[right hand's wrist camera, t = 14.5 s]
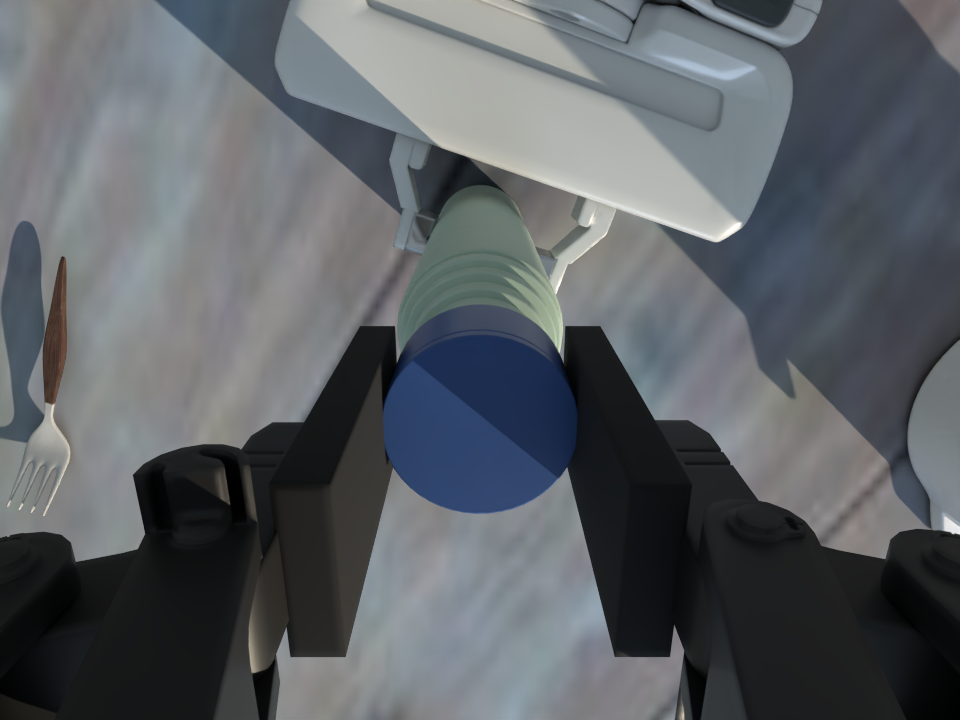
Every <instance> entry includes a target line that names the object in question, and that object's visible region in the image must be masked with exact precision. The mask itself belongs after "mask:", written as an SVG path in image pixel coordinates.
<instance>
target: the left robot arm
mask: <svg viewBox="0 0 960 720" xmlns="http://www.w3.org/2000/svg"><path fill="white" fill-rule="evenodd" d="M822 1H823V0H290V1H289V4H288V8H287V11H286V14H285V17H284V21H283V24H282V28H281V32H280V36H279V39H278V43H277V48H276V52H275V67H276V70H277V72H278V75H279V77H280V79H281V81H282V84H283V86H284V88H285V90H286V92H287V93H288V94H289V95H291V96H293V97H296V98H299V99H302V100H305V101H307V102H310V103H313V104H316V105H319V106H322V107H325V108H328V109H331V110H333V111H336V112H339V113H342V114H345V115H348V116H351V117H354V118H357V119H359V120H362V121H365V122H368V123H371V124H374V125H377V126H380V127H383V128H385V129H388V130H391V131H394V132H397V133H396V137H395V141H394V144H393V148H392V152H391V155H390V159H389V162H390V166H391V170H392V174H393V178H394V182H395V186H396V190H397V194H398V198H399V202H400V206H401V208H404V209H403V212H402V216H401V219H400V223H399V226H398V230H397V233H396V237H395V240H394V246H393V247H396V248H398V249H401V250H405V251H408V252H411V253H415V254H418V255H421V256H422V254H423V252H424V249H425V247H426V245H427V242H428V240H429V238H430V235H431V233H432V231H433V229H434V227H435V224H436V220H437V217H438V214H436V213H433V212H430V211H428V210H425V209H422V207H421V202H420V198H419V193H418V188H417V184H416V179H415V175H414V170H413V168H414V169H417V170H420V169H421V168H423V167H424V166H426V163H427V160H428V156H429V153H430V150H431V147H432V145H434V146H437V147H440V148H443V149H446V150H449V151H452V152H455V153H458V154H460V155H463V156H466V157H469V158H472V159H475V160H478V161H481V162H484V163H486V164H489V165H492V166H495V167H498V168H501V169H504V170H507V171H510V172H512V173H515V174H518V175H521V176H524V177H527V178H530V179H533V180H536V181H538V182H541V183H544V184H547V185H550V186H553V187H556V188H559V189H562V190H564V191H567V192H570V193H573V194H576V195H578V197H577V200H576V203H575V206H574V209H573V211H572V214H571V215H572V218H573V219H574V220H575V221H576V222H577V223H578V224H579V225H578V226H577V227H576V228H575V229H574V230H573V231H572V232H570V233H569V234H568V235H567V236H566V237H565V238H564V239H562V240H561V241H560V242H559V243H558V244H557V245H556V246H555V247H553V248H552V249H551V250H550V251H547V250H544V249H541V248H538V247H535V248H536V250H537V253H538V255H539V257H540V260H541V262H542V264H543V267H544V269H545V271H546V274H547V276H548V278H549V281H550V283H551V285H552V288H553V290H554V292H555V295H556V293H557V290H558V288H559V285H560V283H561V280H562V277H563V275H564V272H565V270H566V267H567V264H568V263H569V264H571V263H573V262H574V261H575V260H576V259H577V258H579V257H580V256H581V255H582V254H584V253H585V252H586V251H587V250H588V249H590V248H591V247H592V246H593V245H595V244H596V243H597V242H598V241H599V240H601V239H602V238H603V237H604V236H606V234H607V232H608V229H609V227H610V224H611V222H612V219H613V217H614V214H615V212H616V209H619V210H622V211H625V212H628V213H631V214H634V215H637V216H640V217H642V218H645V219H648V220H651V221H654V222H657V223H660V224H663V225H666V226H668V227H671V228H674V229H677V230H680V231H683V232H686V233H689V234H692V235H694V236H697V237H700V238H703V239H706V240H709V241H712V242H720V241H722V240H724V239H725V238H727V237H729V236H730V235H732V234H733V233H735V232H736V231H738V230H739V229H741V228H742V227H743V226H744V225H745V224H746V223H747V221H748V219H749V218H750V216H751V214H752V212H753V210H754V208H755V206H756V204H757V201H758V199H759V197H760V195H761V192H762V190H763V188H764V185H765V183H766V180H767V178H768V175H769V173H770V170H771V168H772V165H773V162H774V160H775V157H776V154H777V151H778V149H779V146H780V143H781V140H782V137H783V133H784V130H785V127H786V124H787V121H788V118H789V114H790V110H791V105H792V98H793V79H792V74H791V71H790V68H789V66H788V63H787V62H786V60H785V58H784V57H783V56H782V55H781V54H780V53H779V52H778V51H780V50H783V49H786V48H788V47H790V46H793V45H795V44H797V43H799V42H800V41H802V40H803V39H804V38H805V37H806V36H807V34H808V33H809V32H810V30H811V28H812V26H813V25H814V23H815V21H816V19H817V15H818V14H819V12H820V9H821V6H822ZM907 444H908V452H909V457H910V461H911V464H912V467H913V469H914V472H915V474H916V476H917V477H918V479H919V480H920V482H921V484H922V485H923V487H924V488H925V490H926V492H927V494H928V496H929V499H930V519H931V526H932V530H942V531H947V532H951V533H952V534H954V533H956V534H959V535H960V340H959V341H957V342H956V343H955V344H954V345H953V346H952V347H951V348H950V349H949V350H948V351H947V352H946V353H945V354H944V355H943V356H942V358H941V359H940V360H939V361H938V362H937V363H936V365H935V366H934V367H933V369H932V370H931V372H930V373H929V375H928V376H927V378H926V379H925V381H924V383H923V384H922V386H921V388H920V390H919V392H918V394H917V397H916V399H915V402H914V404H913V407H912V410H911V414H910V418H909V424H908V433H907Z"/></svg>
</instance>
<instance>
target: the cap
mask: <svg viewBox="0 0 960 720" xmlns="http://www.w3.org/2000/svg"><path fill="white" fill-rule="evenodd" d="M577 417H578V408H577V404H576V400H575V396H574V393H573V391H572V388H571V385H570V382H569V379H568V376H567V373H566V370H565V367H564V364H563V361H562V358H561V356H560V354H559V351H558V349H557V348H556V346H555V344H554V343H553V341H552V340H551V338H550V337H549V336H548V335H547V333H546V332H545V331H544V330H543V329H542V328H541V327H539V326H538V325H537V324H536V323H535V322H533V321H532V320H530V319H529V318H527V317H526V316H524V315H522V314H520V313H518V312H515V311H513V310H510V309H508V308H503V307H499V306H494V305H485V304H481V305H467V306H460V307H457V308H453V309H450V310H447V311H445V312H443V313H440V314H438V315H437V316H435V317H433V318H431V319H430V320H428V321H427V322H426V323H424V324H423V325H422V326H421V327H420V328H419V329H418V330H417V331H416V332H415V333H414V334H413V335H412V336H411V338H410V339H409V340H408V342H407V343H406V345H405V346H404V348H403V350H402V352H401V354H400V357H399V360H398V362H397V365H396V368H395V371H394V374H393V377H392V380H391V382H390V385H389V388H388V391H387V394H386V397H385V400H384V404H383V426H384V443H385V451H386V453H387V456H388V458H389V460H390V462H391V464H392V466H393V468H394V469H395V471H396V472H397V473H398V475H399V476H400V477H401V479H402V480H403V481H404V482H405V483H406V484H407V485H408V486H409V487H410V488H411V489H413V490H414V491H415V492H416V493H418V494H419V495H420V496H422V497H424V498H425V499H427V500H428V501H430V502H432V503H434V504H437V505H439V506H441V507H444V508H447V509H450V510H454V511H459V512H464V513H474V514H486V513H496V512H502V511H506V510H510V509H513V508H516V507H519V506H521V505H524V504H526V503H528V502H530V501H532V500H534V499H535V498H537V497H538V496H540V495H541V494H543V493H544V492H545V491H546V490H548V489H549V488H550V487H551V486H552V485H553V484H554V483H555V482H556V481H557V480H558V479H559V478H560V476H561V475H562V474H563V472H564V471H565V469H566V468H567V466H568V464H569V462H570V460H571V458H572V456H573V454H574V451H575V448H576V435H577Z"/></svg>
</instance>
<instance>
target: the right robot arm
mask: <svg viewBox="0 0 960 720" xmlns="http://www.w3.org/2000/svg"><path fill="white" fill-rule="evenodd" d="M396 365H397V359H396V338H395V326H360V328H359V329H358V331H357V333H356V334H355V336H354V338H353V340H352V341H351V343H350V345H349V346H348V348H347V350H346V352H345V353H344V355H343V357H342V359H341V360H340V362H339V364H338V365H337V367H336V369H335V371H334V372H333V374H332V376H331V377H330V379H329V381H328V383H327V384H326V386H325V388H324V389H323V391H322V393H321V395H320V396H319V398H318V400H317V402H316V403H315V405H314V407H313V408H312V410H311V412H310V414H309V415H308V417H307V419H306V420H305V422H273V423H271V424H269V425H268V426H266V427H265V428H263V429H261V430H260V431H258V432H257V433H255V434H253V435H252V436H251V437H250V438H249V440H248V441H247V442H246V444H245V445H244V447H243V448H242V449H239V448H236V447H232V446H228V445H223V444H203V445H197V446H191V447H184V448H180V449H177V450H174V451H171V452H168V453H165V454H162V455H160V456H158V457H156V458H154V459H152V460H150V461H149V462H147V463H145V464H143V465H142V466H141V467H140V468H139V469H138V470H137V471H136V472H135V473H134V474H133V478H134V482H135V487H136V492H137V497H138V501H139V506H140V511H141V515H142V520H143V525H144V530H145V536H144V538H143V540H142V542H141V544H140V546H139V548H138V549H137V550H133V551H129V552H125V553H121V554H116V555H110V556H105V557H100V558H95V559H90V560H84V561H79V562H76V561H75V557H74V553H73V549H72V546H71V542H69V541H68V540H67V539H66V538H65V537H63V536H62V535H59V534H53V533H48V532H36V533H20V534H15V535H10V537H7V536H6V537H2V538H0V720H275V719H276V710H277V702H278V694H279V686H280V679H279V672H278V665H277V658H276V653H277V650H278V648H279V645H280V642H281V640H282V637H283V635H284V632H285V629H286V627H287V633H288V641H289V649H290V656H291V657H346V653H347V649H348V645H349V641H350V637H351V633H352V629H353V625H354V621H355V617H356V613H357V609H358V605H359V601H360V597H361V593H362V589H363V585H364V581H365V577H366V573H367V569H368V565H369V561H370V557H371V553H372V549H373V545H374V541H375V537H376V533H377V529H378V525H379V521H380V517H381V513H382V509H383V505H384V501H385V497H386V493H387V489H388V485H389V481H390V477H391V473H392V469H393V466H392V464H391V462H390V460H389V458H388V456H387V453H386V451H385V443H384V426H383V404H384V400H385V397H386V394H387V391H388V388H389V385H390V382H391V380H392V377H393V374H394V371H395V368H396ZM564 367H565V370H566V373H567V376H568V379H569V382H570V385H571V388H572V391H573V393H574V396H575V400H576V404H577V408H578V417H577V435H576V448H575V451H574V454H573V456H572V458H571V460H570V462H569V464H568V466H567V468H568V472H569V476H570V480H571V484H572V488H573V492H574V496H575V500H576V504H577V508H578V512H579V515H580V519H581V523H582V527H583V531H584V535H585V539H586V543H587V547H588V551H589V555H590V559H591V563H592V567H593V571H594V575H595V579H596V583H597V587H598V591H599V595H600V599H601V603H602V607H603V611H604V615H605V619H606V623H607V627H608V631H609V635H610V639H611V643H612V647H613V651H614V655H615V657H670V652H671V644H672V637H673V629H674V625H675V627H676V630H677V633H678V635H679V638H680V640H681V643H682V646H683V648H684V658H683V665H682V672H681V679H680V687H679V694H678V701H677V708H676V715H675V720H684V717H685V720H960V535H959V534H956V533H954V534H952V533H951V532H947V531H942V530H925V529H914V530H908V531H902V532H899V533H898V534H897V535H896V536H894V537H893V538H892V539H891V540H890V544H889V548H888V551H887V555H886V559H881V558H876V557H871V556H865V555H860V554H855V553H850V552H844V551H839V550H835V549H831V548H827V547H823V546H821V545H820V543H819V541H818V539H817V537H816V535H815V533H814V532H813V530H812V529H811V528H810V527H809V526H808V524H807V523H806V522H805V521H804V520H802V519H801V518H799V517H798V516H796V515H795V514H793V513H792V512H790V511H789V510H786V509H783V508H781V507H778V506H776V505H773V504H770V503H767V502H762V501H758V499H757V498H756V497H755V495H754V494H753V492H752V491H751V490H750V488H749V487H748V486H747V484H746V483H745V481H744V480H743V479H742V477H741V476H740V475H739V473H738V472H737V471H736V469H735V468H734V466H733V465H730V461H729V460H728V458H727V457H726V456H725V454H724V453H723V452H721V449H720V447H719V446H718V445H717V443H716V442H715V440H714V439H713V438H712V436H711V435H710V434H709V433H708V432H706V431H704V430H703V429H701V428H700V427H698V426H696V425H695V424H693V423H692V422H690V421H688V420H654V418H653V416H652V414H651V413H650V411H649V409H648V408H647V406H646V404H645V402H644V401H643V399H642V397H641V396H640V394H639V392H638V390H637V389H636V387H635V385H634V384H633V382H632V380H631V378H630V377H629V375H628V373H627V372H626V370H625V368H624V366H623V365H622V363H621V361H620V359H619V358H618V356H617V354H616V353H615V351H614V349H613V347H612V346H611V344H610V342H609V341H608V339H607V337H606V335H605V334H604V332H603V330H602V329H601V327H600V326H565V347H564Z"/></svg>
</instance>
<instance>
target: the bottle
mask: <svg viewBox="0 0 960 720" xmlns="http://www.w3.org/2000/svg"><path fill="white" fill-rule="evenodd" d="M481 304H485V305H494V306H499V307H503V308H508V309H510V310H513V311H515V312H518V313H520V314H522V315H524V316H526V317H527V318H529V319H530V320H532V321H533V322H535V323H536V324H537V325H538V326H539V327H541V328H542V329H543V330H544V331H545V332H546V333H547V335H548V336H549V337H550V338H551V340H552V341H553V343H554V344H555V346H556V348H557V349H558V351H559V353H560V348H561V341H562V333H563V321H562V313H561V309H560V305H559V302H558V300H557V297H556V295H555V292H554V290H553V288H552V285H551V283H550V281H549V278H548V276H547V274H546V271H545V269H544V267H543V264H542V262H541V260H540V257H539V255H538V253H537V250H536V248H535V246H534V244H533V241H532V239H531V237H530V234H529V232H528V230H527V227H526V225H525V223H524V220H523V218H522V216H521V213H520V211H519V209H518V207H517V205H516V204H515V202H514V201H513V200H512V199H511V198H510V197H509V196H508V195H507V194H506V193H504V192H503V191H501V190H499V189H497V188H495V187H491V186H487V185H474V186H469V187H466V188H464V189H461V190H459V191H458V192H456V193H455V194H454V195H452V196H451V197H450V198H449V199H448V200H447V202H446V203H445V205H444V206H443V208H442V210H441V212H440V215H439V217H438V219H437V222H436V224H435V227H434V229H433V231H432V233H431V235H430V238H429V240H428V242H427V245H426V247H425V249H424V252H423V254H422V256H421V258H420V261H419V263H418V265H417V268H416V270H415V272H414V274H413V277H412V279H411V281H410V284H409V286H408V288H407V291H406V293H405V295H404V298H403V300H402V303H401V306H400V310H399V315H398V339H399V346H400V351H401V352H402V350H403V348H404V346H405V345H406V343H407V342H408V340H409V339H410V338H411V336H412V335H413V334H414V333H415V332H416V331H417V330H418V329H419V328H420V327H421V326H422V325H423V324H424V323H426V322H427V321H428V320H430V319H431V318H433V317H435V316H437V315H438V314H440V313H443V312H445V311H447V310H450V309H453V308H457V307H460V306H467V305H481Z"/></svg>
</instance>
